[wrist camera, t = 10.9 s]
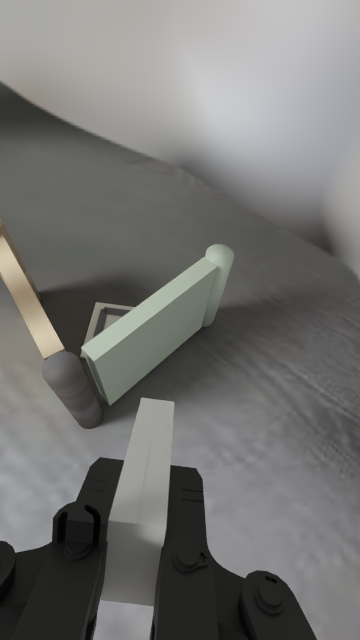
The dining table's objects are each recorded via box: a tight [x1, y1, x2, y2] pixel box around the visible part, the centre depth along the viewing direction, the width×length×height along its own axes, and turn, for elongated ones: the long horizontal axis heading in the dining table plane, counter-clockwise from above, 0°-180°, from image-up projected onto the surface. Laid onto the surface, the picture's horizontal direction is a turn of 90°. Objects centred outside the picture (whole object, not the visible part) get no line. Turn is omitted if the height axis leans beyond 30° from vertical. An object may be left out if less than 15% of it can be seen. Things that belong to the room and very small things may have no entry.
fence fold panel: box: [81, 244, 234, 406], centre depth 25 cm, size 12×2×8 cm, turn 135°
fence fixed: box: [0, 218, 103, 429], centre depth 24 cm, size 14×2×10 cm, turn 34°
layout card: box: [80, 302, 135, 358], centre depth 29 cm, size 6×6×1 cm
